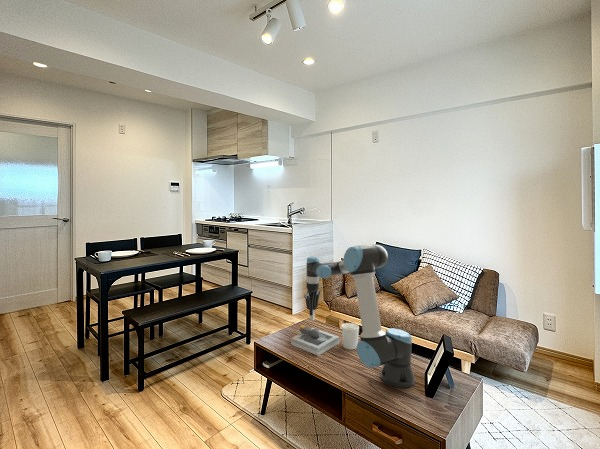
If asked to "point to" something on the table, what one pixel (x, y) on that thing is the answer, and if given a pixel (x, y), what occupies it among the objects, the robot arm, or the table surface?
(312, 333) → the dial
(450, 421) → the table surface
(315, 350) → the dial panel
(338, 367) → the table surface
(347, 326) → the candle holder
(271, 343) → the table surface
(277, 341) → the table surface
